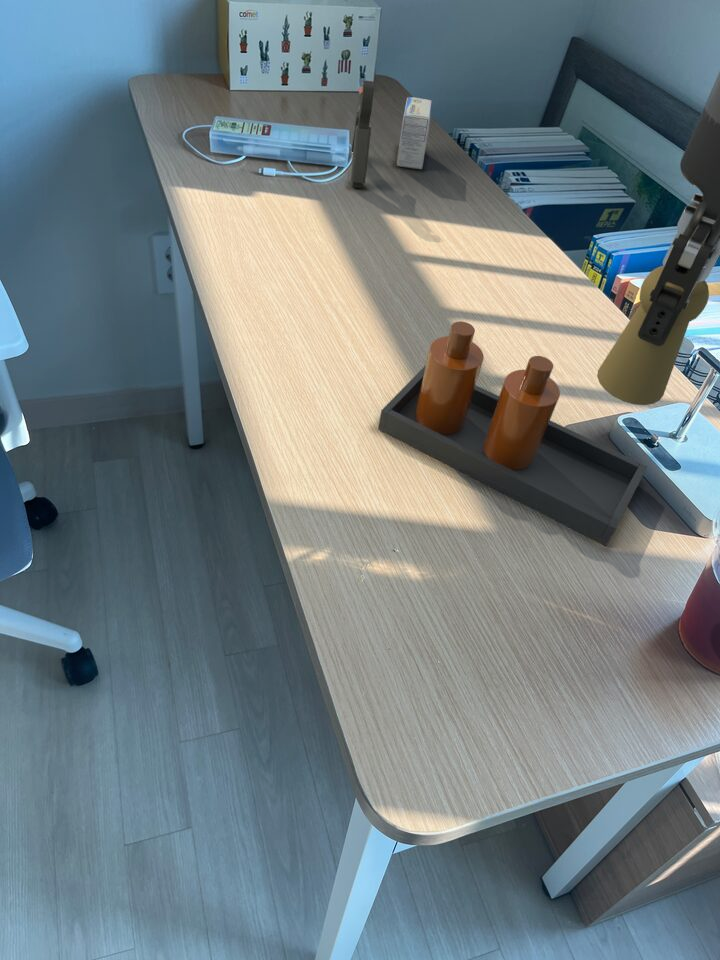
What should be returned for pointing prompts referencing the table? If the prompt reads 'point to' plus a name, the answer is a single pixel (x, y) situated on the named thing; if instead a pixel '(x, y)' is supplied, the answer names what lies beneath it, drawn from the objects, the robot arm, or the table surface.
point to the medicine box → (414, 133)
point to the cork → (647, 349)
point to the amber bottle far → (449, 380)
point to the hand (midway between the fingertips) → (660, 323)
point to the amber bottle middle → (522, 415)
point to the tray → (545, 483)
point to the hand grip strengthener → (362, 135)
